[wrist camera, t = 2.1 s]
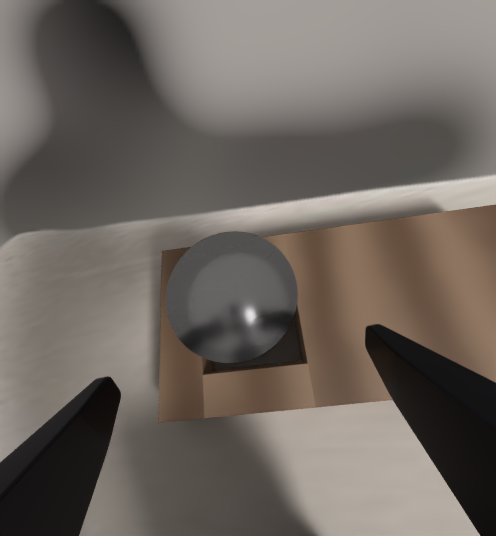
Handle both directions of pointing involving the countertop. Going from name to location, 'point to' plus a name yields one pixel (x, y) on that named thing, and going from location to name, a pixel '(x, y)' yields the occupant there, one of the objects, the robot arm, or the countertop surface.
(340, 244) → the plate
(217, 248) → the silver cylindrical piece
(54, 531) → the robot arm
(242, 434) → the countertop surface
